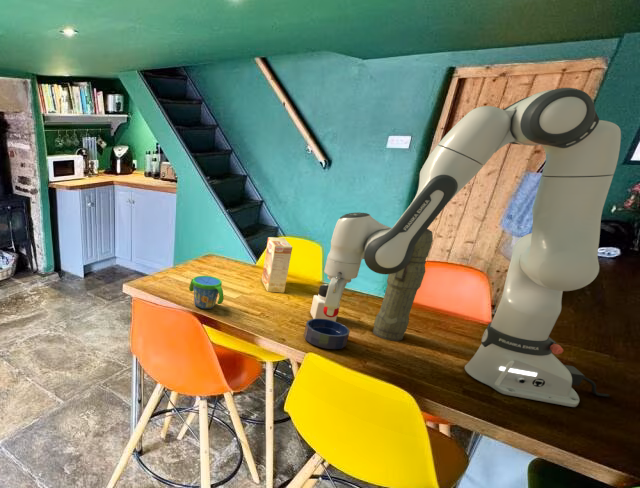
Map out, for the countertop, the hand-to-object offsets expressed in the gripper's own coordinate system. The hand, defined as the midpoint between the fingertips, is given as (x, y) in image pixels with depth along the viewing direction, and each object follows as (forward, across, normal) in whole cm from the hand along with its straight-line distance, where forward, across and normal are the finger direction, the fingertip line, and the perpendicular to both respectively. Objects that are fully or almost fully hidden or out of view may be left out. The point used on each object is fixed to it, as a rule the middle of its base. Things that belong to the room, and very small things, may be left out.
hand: (330, 311), depth 123 cm
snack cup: (+11, +5, +42) cm, 44 cm away
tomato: (+2, 0, 0) cm, 2 cm away
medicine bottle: (+10, +19, +3) cm, 22 cm away
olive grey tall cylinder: (+10, +17, -17) cm, 26 cm away
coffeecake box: (+10, +42, +26) cm, 50 cm away
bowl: (+10, 0, 0) cm, 10 cm away
